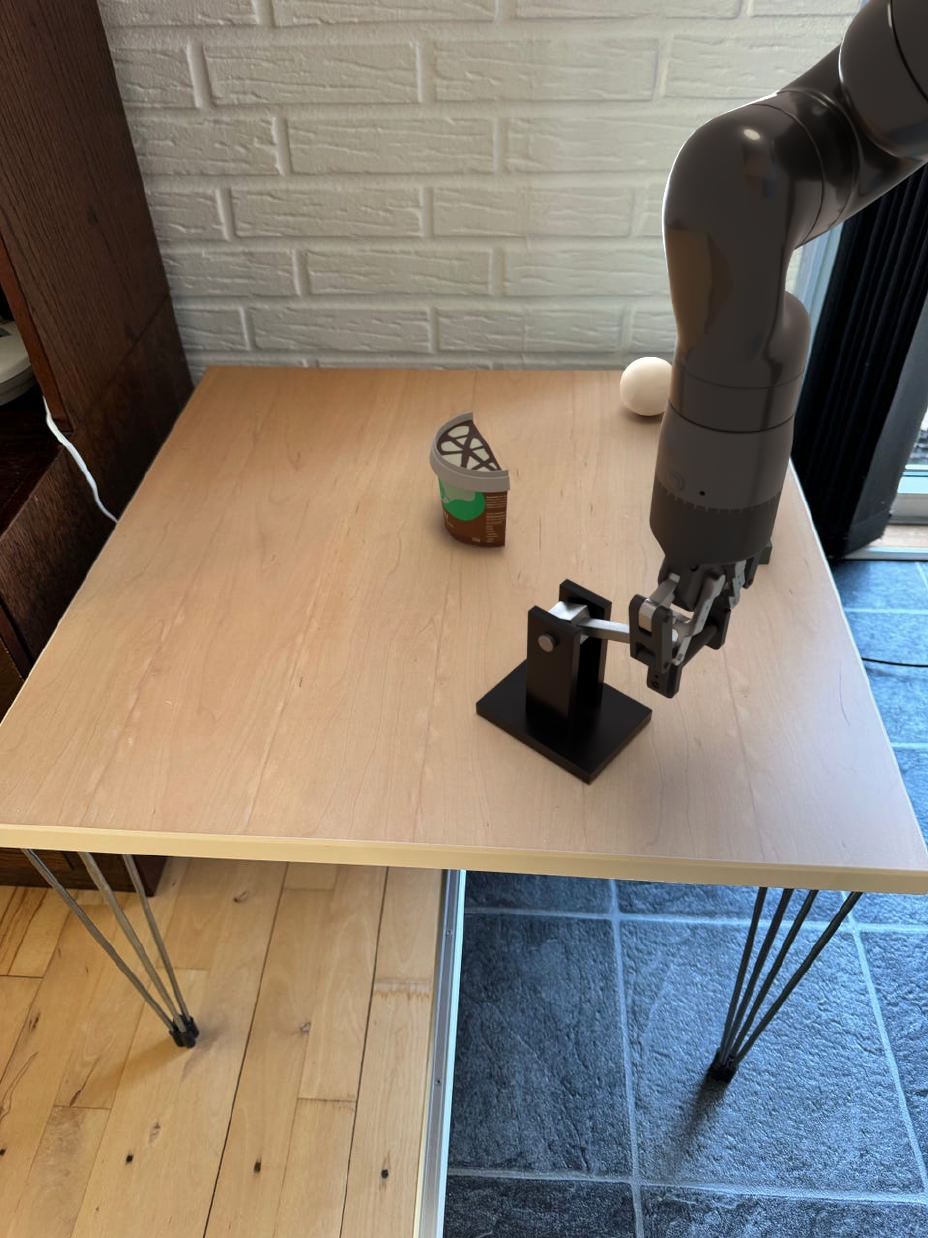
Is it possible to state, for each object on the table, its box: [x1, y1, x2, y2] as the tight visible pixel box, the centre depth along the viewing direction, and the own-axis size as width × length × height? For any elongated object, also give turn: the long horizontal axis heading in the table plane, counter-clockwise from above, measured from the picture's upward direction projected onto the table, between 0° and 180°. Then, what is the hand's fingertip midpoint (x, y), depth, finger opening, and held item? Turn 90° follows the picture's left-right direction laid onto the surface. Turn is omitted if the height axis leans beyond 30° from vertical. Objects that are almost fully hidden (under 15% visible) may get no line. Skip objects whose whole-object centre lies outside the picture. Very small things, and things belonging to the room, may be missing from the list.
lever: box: [547, 601, 719, 668], centre depth 71 cm, size 13×6×2 cm, turn 49°
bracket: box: [475, 578, 653, 785], centre depth 78 cm, size 12×9×13 cm
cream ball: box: [619, 356, 672, 417], centre depth 116 cm, size 7×7×7 cm
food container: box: [428, 410, 511, 548], centre depth 99 cm, size 12×6×10 cm, turn 17°
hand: (685, 665), depth 69 cm, fingers closed on lever, 5 cm apart
